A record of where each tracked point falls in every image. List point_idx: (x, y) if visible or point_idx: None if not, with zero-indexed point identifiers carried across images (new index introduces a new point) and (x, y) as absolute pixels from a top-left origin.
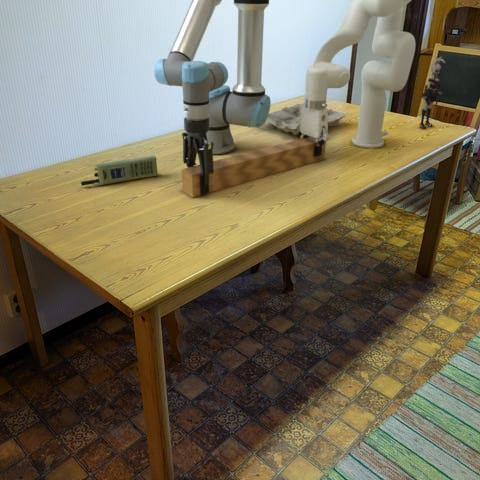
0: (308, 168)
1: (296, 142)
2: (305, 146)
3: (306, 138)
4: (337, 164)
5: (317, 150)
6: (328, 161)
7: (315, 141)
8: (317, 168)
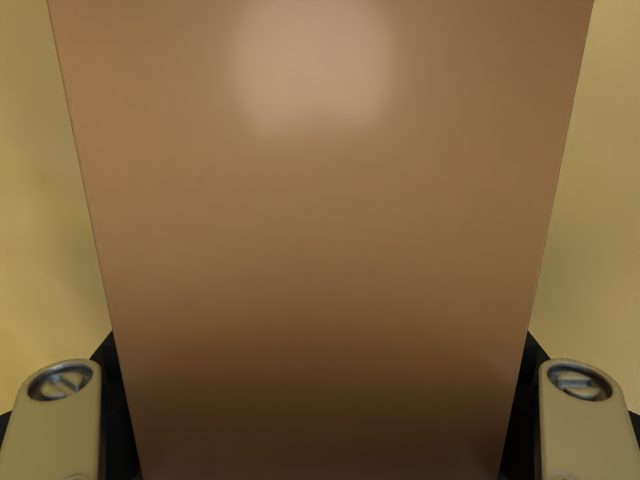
0: None
1: (408, 4)
2: (80, 70)
3: (455, 436)
4: None
5: None
6: None
7: (181, 447)
8: (32, 127)
